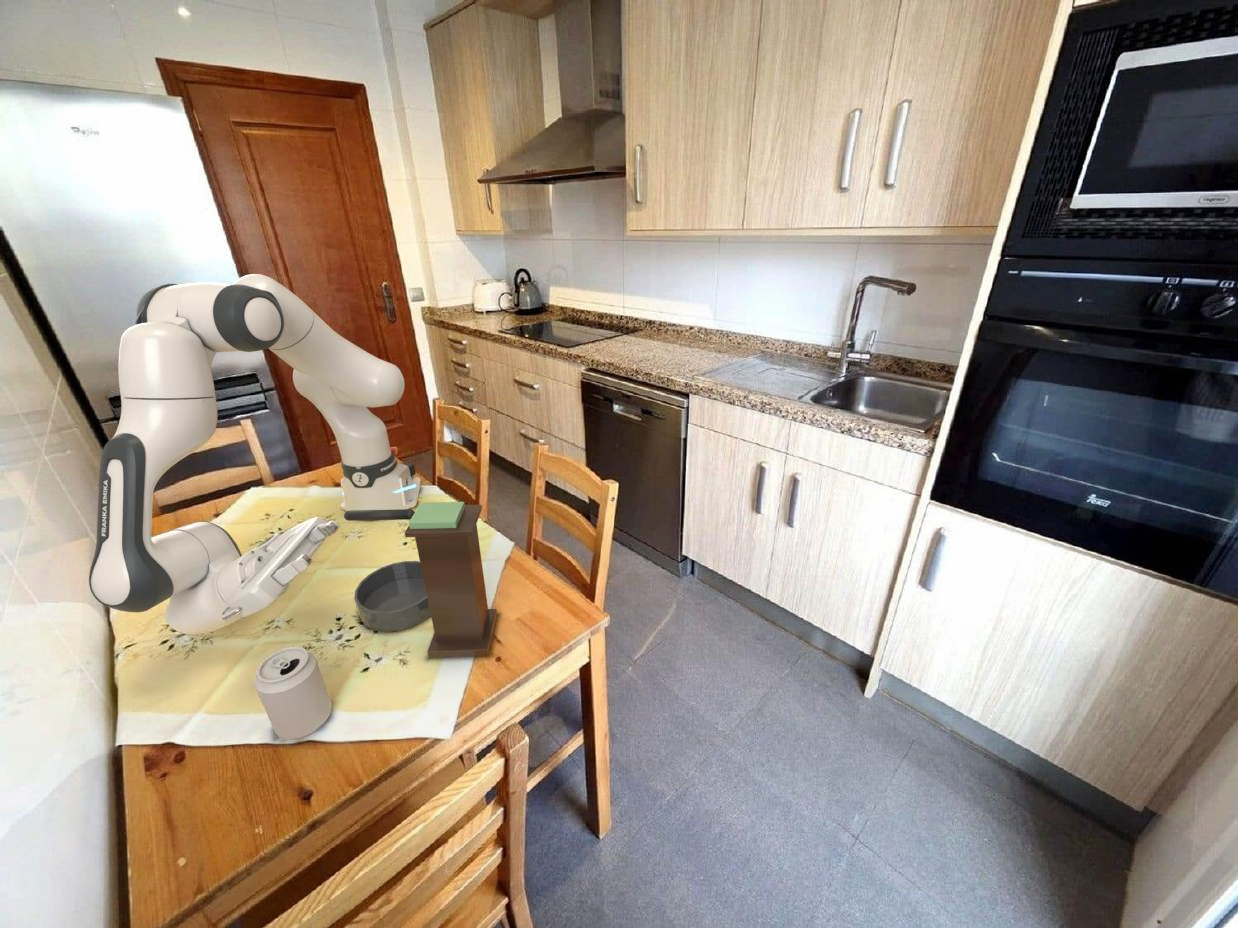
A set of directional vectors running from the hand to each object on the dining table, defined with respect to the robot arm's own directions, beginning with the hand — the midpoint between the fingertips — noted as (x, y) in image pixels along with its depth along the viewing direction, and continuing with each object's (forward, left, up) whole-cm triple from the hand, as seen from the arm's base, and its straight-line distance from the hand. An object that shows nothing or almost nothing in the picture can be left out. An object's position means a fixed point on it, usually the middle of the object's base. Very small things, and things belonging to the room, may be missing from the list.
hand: (321, 541), depth 80 cm
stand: (0, +20, -21) cm, 29 cm away
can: (+16, 0, -21) cm, 27 cm away
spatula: (0, +14, +4) cm, 14 cm away
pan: (-9, +6, -21) cm, 24 cm away
